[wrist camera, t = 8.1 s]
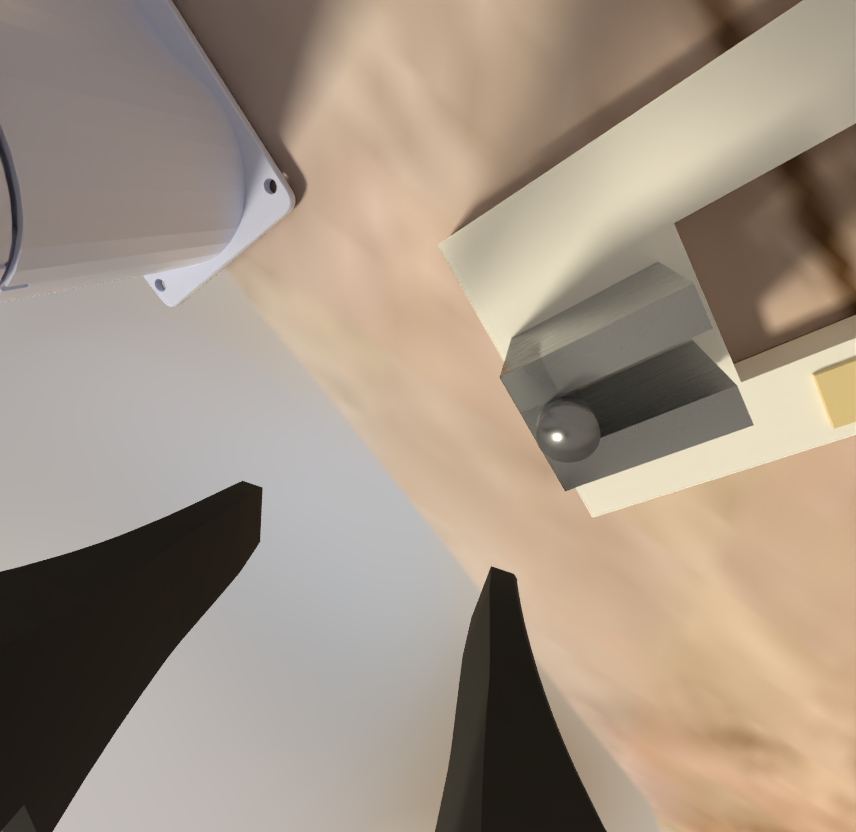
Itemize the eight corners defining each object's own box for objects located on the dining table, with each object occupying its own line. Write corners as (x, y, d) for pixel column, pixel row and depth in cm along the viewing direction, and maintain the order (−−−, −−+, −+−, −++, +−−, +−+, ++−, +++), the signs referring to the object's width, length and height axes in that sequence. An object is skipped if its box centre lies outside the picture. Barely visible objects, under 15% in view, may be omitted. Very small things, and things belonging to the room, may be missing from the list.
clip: (511, 338, 16) (496, 388, 12) (658, 261, 14) (703, 289, 10) (562, 430, 17) (565, 507, 13) (706, 371, 15) (767, 440, 11)
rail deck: (446, 241, 17) (430, 247, 14) (942, -90, 11) (1042, -163, 9) (589, 496, 20) (594, 533, 17) (1039, 345, 14) (1131, 372, 12)
